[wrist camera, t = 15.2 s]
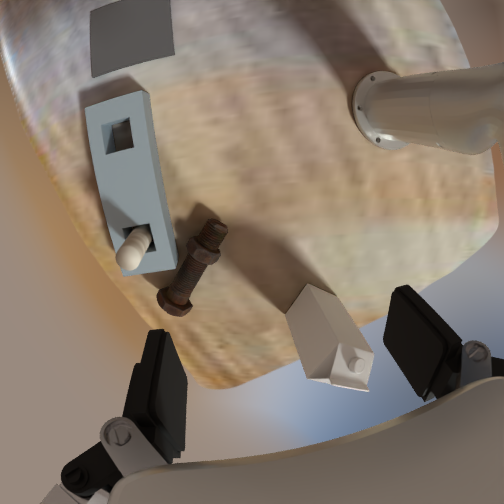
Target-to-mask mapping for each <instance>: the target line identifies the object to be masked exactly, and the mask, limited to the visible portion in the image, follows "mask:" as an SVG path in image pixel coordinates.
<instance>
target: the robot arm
mask: <svg viewBox="0 0 504 504" xmlns="http://www.w3.org/2000/svg"><path fill="white" fill-rule="evenodd" d="M370 78H371V79H370ZM352 106H353V114H354V118H355V121H356V123H357V126H358V128H359V129H360V131H361V133H362V134H363V135H364V136H365V137H366V139H368V140H369V141H370V142H371V143H372V144H374V145H376V146H378V147H380V148H383V149H388V150H397V149H402V148H404V147H406V146H407V145H409V144H410V143H414V144H419V145H425V146H430V147H435V148H440V149H444V150H449V151H453V152H457V153H462V154H467V155H476V154H480V153H483V152H485V151H486V150H488V149H489V148H491V147H492V146H493V145H494V144H495V143H496V142H498V144H499V147H500V150H501V155H502V161H503V164H504V62H502V63H498V64H494V65H488V66H483V67H476V68H468V69H458V70H448V71H439V72H431V73H423V74H416V75H410V76H404V77H400V76H398V75H396V74H394V73H392V72H388V71H377V72H373V73H370V74H368V75H366V76H365V77H363V78H362V79H361V80H360V82H359V83H358V85H357V86H356V88H355V91H354V94H353V101H352ZM357 107H358V108H359V109H357ZM383 342H384V345H385V346H386V348H387V349H388V351H389V352H390V354H391V355H392V357H393V358H394V360H395V361H396V363H397V364H398V366H399V367H400V369H401V370H402V372H403V374H404V375H405V377H406V378H407V380H408V381H409V383H410V384H411V386H412V388H413V389H414V391H415V392H416V394H417V395H418V396H419V397H422V399H423V400H424V402H426V401H428V400H430V399H432V398H434V397H436V398H437V400H435V401H433V402H431V403H429V404H427V405H424V406H422V407H420V408H418V409H416V410H414V411H411V412H409V413H407V414H404V415H402V416H399V417H397V418H395V419H392V420H389V421H387V422H384V423H381V424H379V425H376V426H373V427H371V428H368V429H365V430H362V431H359V432H356V433H353V434H350V435H346V436H343V437H339V438H336V439H332V440H329V441H325V442H322V443H317V444H314V445H309V446H306V447H301V448H296V449H291V450H286V451H281V452H276V453H270V454H264V455H257V456H250V457H242V458H235V459H225V460H215V461H201V462H188V463H175V464H172V463H173V458H180V456H181V451H184V450H185V429H186V404H187V385H188V383H187V376H186V374H185V372H184V369H183V366H182V364H181V361H180V359H179V356H178V354H177V351H176V349H175V346H174V344H173V341H172V338H171V336H170V333H169V332H165V331H164V329H156V330H150V331H149V332H148V335H147V339H146V343H145V347H144V351H143V355H142V359H141V363H136V364H135V366H134V369H133V373H132V376H131V380H130V385H129V389H128V394H127V397H126V402H125V406H124V411H123V415H122V417H115V418H112V419H110V420H108V421H107V422H106V423H105V424H104V425H103V426H102V428H101V431H100V440H101V441H100V442H98V443H97V444H96V445H94V446H93V447H91V448H90V449H88V450H87V451H85V452H84V453H82V454H81V455H79V456H78V457H76V458H75V459H73V460H72V461H70V462H69V463H68V464H66V465H65V466H64V468H63V470H62V472H61V481H62V482H61V484H60V485H58V484H56V485H55V486H54V487H53V489H52V490H51V491H50V492H49V493H48V494H47V496H46V497H45V498H44V499H43V501H42V502H41V503H40V504H504V359H500V358H495V357H491V353H490V350H489V348H488V347H487V346H486V345H485V344H483V343H482V342H479V341H468V342H467V343H465V344H464V346H463V345H462V344H461V342H462V339H461V338H460V337H459V336H458V335H457V334H456V333H455V332H454V330H453V329H452V328H451V327H450V326H449V325H448V324H447V323H446V322H445V321H444V320H443V319H442V318H441V317H440V316H439V315H438V314H437V313H436V312H435V310H434V309H433V308H432V307H431V306H430V305H429V304H428V303H427V302H426V301H425V300H424V299H423V298H422V297H421V296H420V295H419V294H418V293H417V292H416V291H415V290H413V289H412V288H411V287H410V286H409V285H403V286H400V287H396V288H395V290H394V292H392V295H391V301H390V306H389V312H388V317H387V322H386V327H385V332H384V336H383Z"/></svg>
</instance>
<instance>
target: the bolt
mask: <svg viewBox="0 0 504 504" xmlns="http://www.w3.org/2000/svg"><path fill="white" fill-rule="evenodd" d="M226 233H228V229H227V226H226V225H225V224H223V223H221V222H219V221H217V220H215V219H208V221H207V223H206V225H205V227H204V228H203V230H202V232H201V233H200V235H199V236H195V237H192V238H191V239H189V241H188V243H187V245H186V247H187V251H188V253H189V255H188V256H187V257H186V259H185V261H184V263H183V265H182V267H181V268H180V270H179V272H178V274H177V276H176V277H175V279H174V281H173V283H172V284H171V285H170V287H166V288H163V289H161V290H159V291H158V293H157V295H156V296H157V301H158V304H159V306H160V307H161V308H162V309H163V310H164V311H166V312H167V313H168V314H170V315H173V316H179V317H182V316H184V315H186V314H187V313H188V312H190V310H191V309H192V307H193V305H192V304H191V302H190V300H189V297H190V295H191V293H192V291H193V289H194V288H195V286H196V284H197V283H198V281H199V279H200V277H201V276H202V274H203V272H204V270H205V269H206V267H207V266H208V265H212V264H214V263H215V262H217V261H218V259H219V257H220V256H221V254H220V250H219V249H218V247H219V245H220V243H222V241H223V239H224V237H225V235H226Z"/></svg>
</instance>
